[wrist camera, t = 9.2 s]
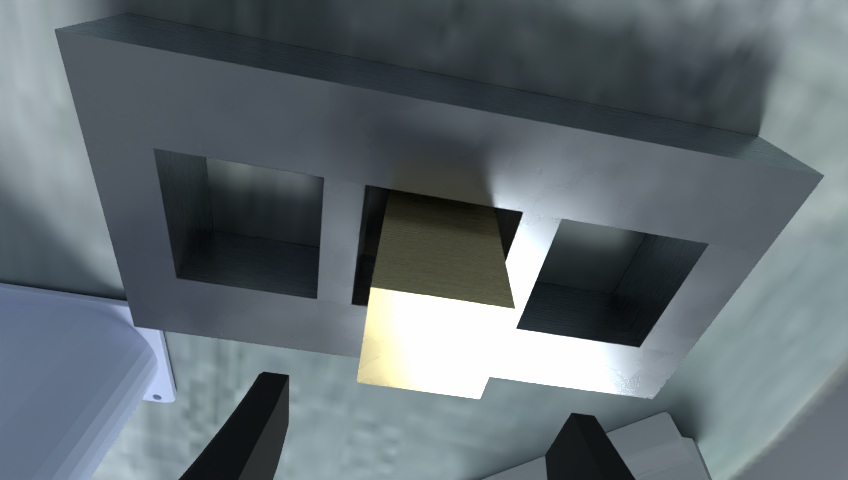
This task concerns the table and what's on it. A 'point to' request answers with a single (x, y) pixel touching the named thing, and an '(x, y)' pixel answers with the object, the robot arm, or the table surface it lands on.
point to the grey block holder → (417, 173)
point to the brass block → (436, 297)
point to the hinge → (638, 454)
